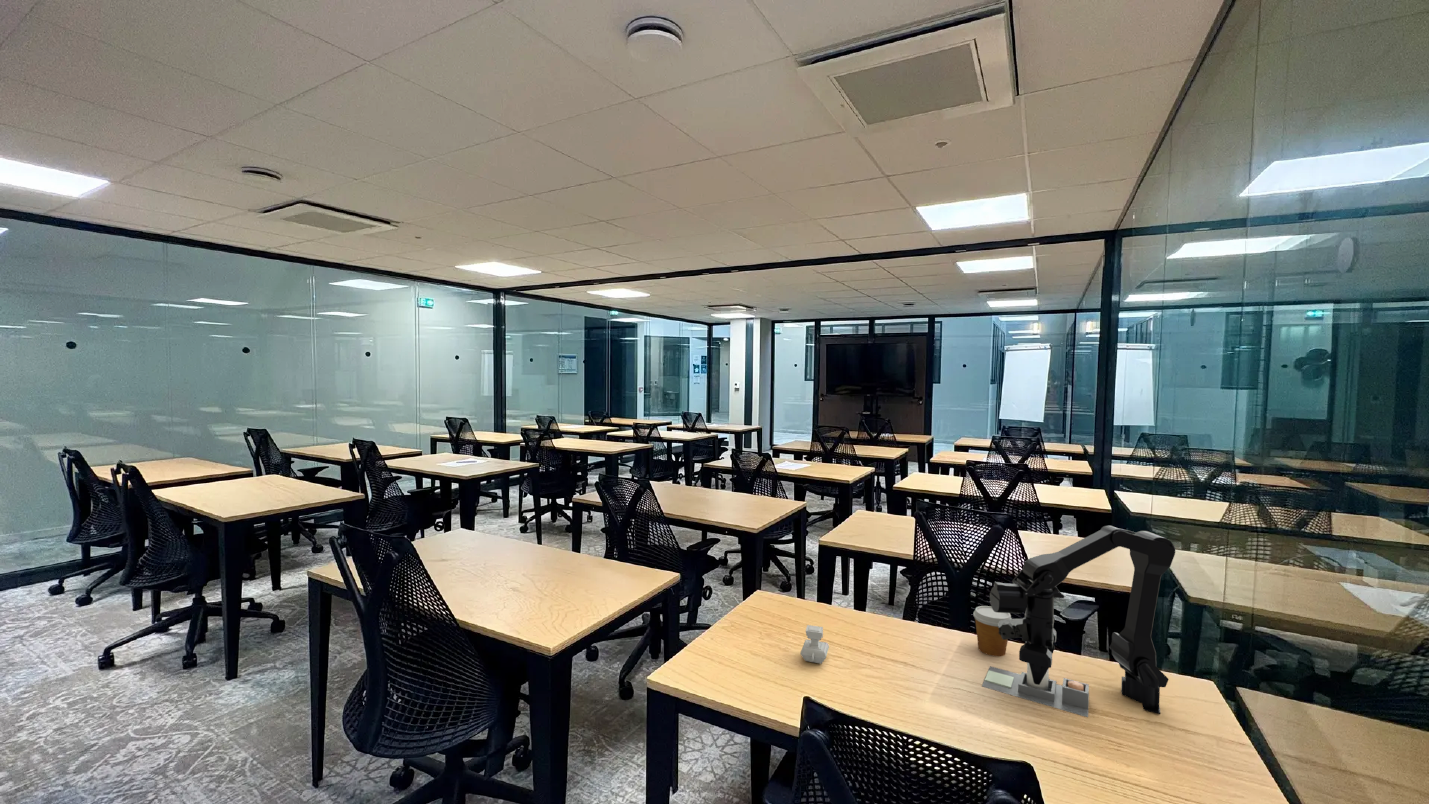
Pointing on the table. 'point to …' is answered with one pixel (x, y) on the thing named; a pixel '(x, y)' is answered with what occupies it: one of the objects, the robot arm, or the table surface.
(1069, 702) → the housing
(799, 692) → the table surface
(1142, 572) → the robot arm
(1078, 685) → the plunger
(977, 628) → the disposable coffee cup
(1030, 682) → the cartridge
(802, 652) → the stamp
